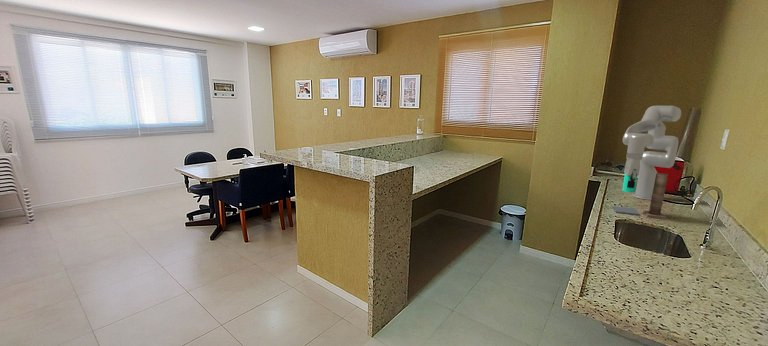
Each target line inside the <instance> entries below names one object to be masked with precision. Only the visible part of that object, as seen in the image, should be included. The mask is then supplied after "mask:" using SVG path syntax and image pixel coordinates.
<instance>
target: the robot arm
mask: <svg viewBox="0 0 768 346" xmlns="http://www.w3.org/2000/svg"><path fill="white" fill-rule="evenodd" d="M681 117H682V110H681V108H680V107H677V106H675V105H651V106H649V107H648V108H647V109H646V110H645V113H644V114H643V116H642V118H641V120H640V121H638V122H635V123H634V124H631V125H630V126H628V128H626V131H625V133H624V134H623V137H622V143H623V145H625V146H627V149H626V150H627V151H626V155H625V156H626V157H625V159H626V162H625V165H624V170H623V173H624V174H625V173H626V175H627V176H629V175H630V176H629V181H628V185H627V187H628V188H634V185H635V179H636V176H638V177H637V182H636V188H635V192H632V194H631V196H632V197H633V198H636V199H640V200H648V201H651V198H652V193H653V188H654V183H655V177H656V173H658V171H657V170H656V168H655V167H659V168H667V169H671V168H672V167H674V165H675V161H676V158H677V157H676V156H677V153H678V148H679V138H678V137H677V136H674V135H665V134H666V130H667V127H666V124H665V123H663V122H673V123H675V122H677V121H680V118H681ZM644 132H647V133H644ZM645 148H647V149H648V150H649V151H647V150H646V151H645ZM650 150H657V151H650ZM662 151H666V152H662ZM631 175H633V176H631Z"/></svg>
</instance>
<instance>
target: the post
mask: <svg viewBox="0 0 768 346" xmlns="http://www.w3.org/2000/svg"><path fill="white" fill-rule="evenodd" d="M668 177H669V174H668V173H662V172H661V173H660V172H657V173H656V177H655V183H654V188H653V193H652V198H651V200H650V205H649V210H643V212H642V213H643V214H644V215H645V216H646V218H649V219H658V220H666V219H667V217H666V215H664V214H663V212H662V207H663V202H664V197H665V193H666V186H667V183H668Z"/></svg>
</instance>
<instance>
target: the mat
mask: <svg viewBox="0 0 768 346" xmlns="http://www.w3.org/2000/svg"><path fill="white" fill-rule="evenodd" d="M611 208H612V210H613V211H614V212H615V214H621V215H629V216H630V215H632V216H640V213H639V212H638V211H637V210H636V209H635V208H634V207H626V206H619V205H617V206H616V205H612V206H611Z"/></svg>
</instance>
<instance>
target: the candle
mask: <svg viewBox="0 0 768 346" xmlns="http://www.w3.org/2000/svg"><path fill="white" fill-rule="evenodd" d="M629 176H630V175H629ZM629 176H627V175H626V173H624V176H623V183H622V189H621V190H622V192H625V193H635V192H636V186H637V180H638V176H636V179H635V185H634V188H628V187H627V185H628V181H629ZM631 176H633V175H631Z"/></svg>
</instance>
